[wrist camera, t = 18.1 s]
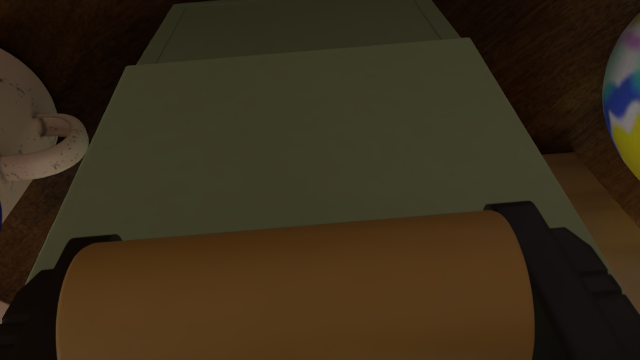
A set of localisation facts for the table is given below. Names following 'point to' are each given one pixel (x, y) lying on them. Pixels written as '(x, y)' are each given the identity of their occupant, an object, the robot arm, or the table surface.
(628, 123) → the decorative egg
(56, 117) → the teacup with lid
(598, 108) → the table surface
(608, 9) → the table surface
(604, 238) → the stand
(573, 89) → the table surface
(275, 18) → the chest
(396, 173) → the lid
